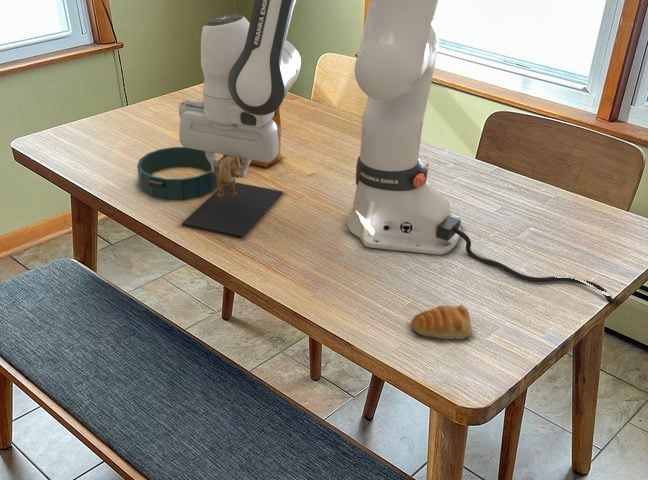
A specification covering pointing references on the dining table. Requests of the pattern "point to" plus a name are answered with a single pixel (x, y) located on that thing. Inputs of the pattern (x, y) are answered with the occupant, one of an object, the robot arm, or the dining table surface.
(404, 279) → the dining table surface
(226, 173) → the lion figurine
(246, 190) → the mat
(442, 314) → the pastry
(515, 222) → the dining table surface
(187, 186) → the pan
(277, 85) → the robot arm
